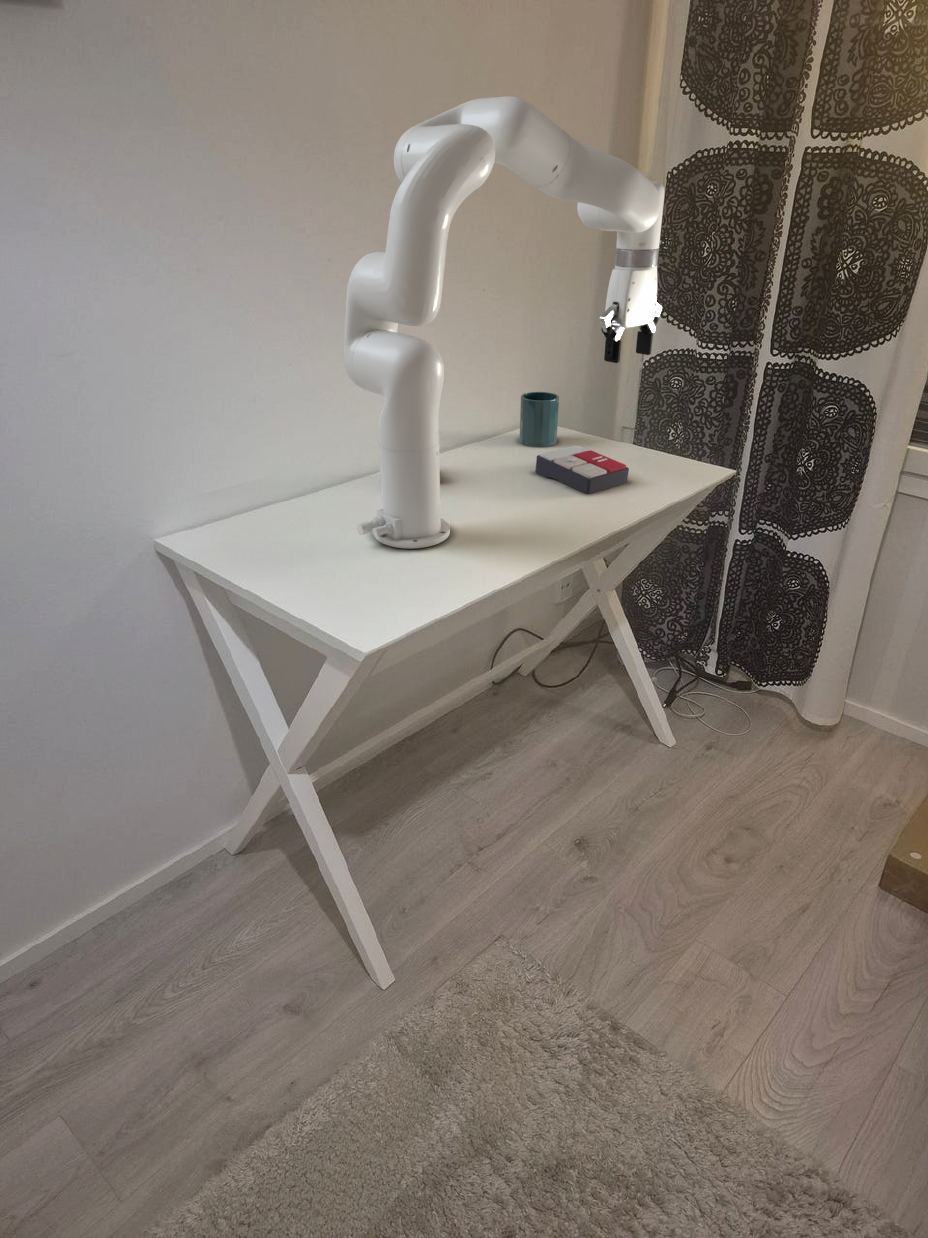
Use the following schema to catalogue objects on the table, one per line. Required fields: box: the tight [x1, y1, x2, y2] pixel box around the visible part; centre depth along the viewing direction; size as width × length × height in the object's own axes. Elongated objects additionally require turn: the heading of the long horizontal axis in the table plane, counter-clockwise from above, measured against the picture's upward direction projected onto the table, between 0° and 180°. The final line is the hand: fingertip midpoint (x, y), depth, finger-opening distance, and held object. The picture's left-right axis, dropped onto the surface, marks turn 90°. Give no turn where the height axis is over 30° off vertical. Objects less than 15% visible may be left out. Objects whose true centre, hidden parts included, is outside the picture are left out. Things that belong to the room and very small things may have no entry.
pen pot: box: [519, 391, 560, 448], centre depth 177 cm, size 8×8×10 cm
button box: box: [535, 444, 630, 495], centre depth 157 cm, size 11×4×15 cm
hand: (627, 357), depth 152 cm, fingers open, 9 cm apart
